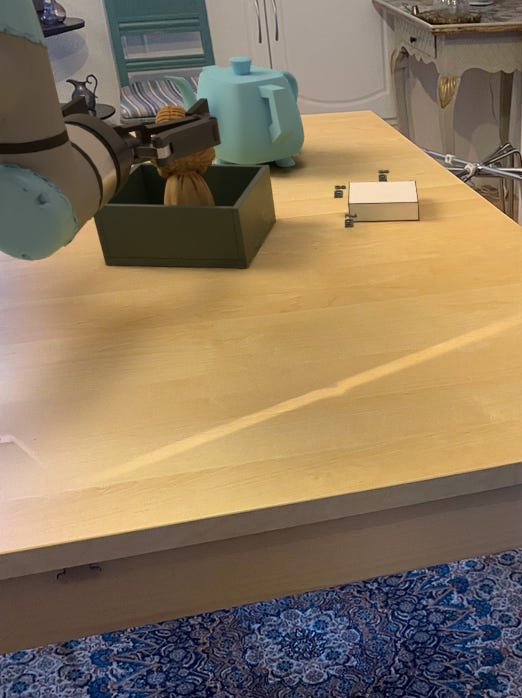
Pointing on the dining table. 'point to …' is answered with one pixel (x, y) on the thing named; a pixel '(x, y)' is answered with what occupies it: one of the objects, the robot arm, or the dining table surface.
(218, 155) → the teapot
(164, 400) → the dining table surface
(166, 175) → the figurine
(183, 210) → the bin
